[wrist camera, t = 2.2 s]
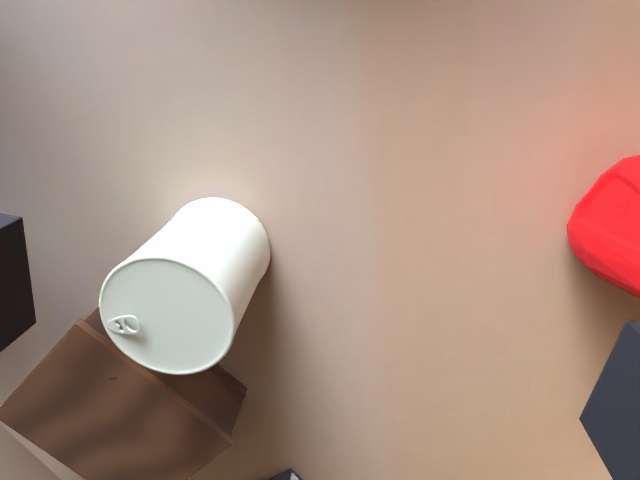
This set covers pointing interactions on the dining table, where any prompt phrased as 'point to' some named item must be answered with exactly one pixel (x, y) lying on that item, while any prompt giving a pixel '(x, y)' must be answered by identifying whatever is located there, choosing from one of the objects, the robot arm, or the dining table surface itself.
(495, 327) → the dining table surface
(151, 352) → the can
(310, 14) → the dining table surface
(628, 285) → the water bottle
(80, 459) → the wooden box
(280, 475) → the notebook
